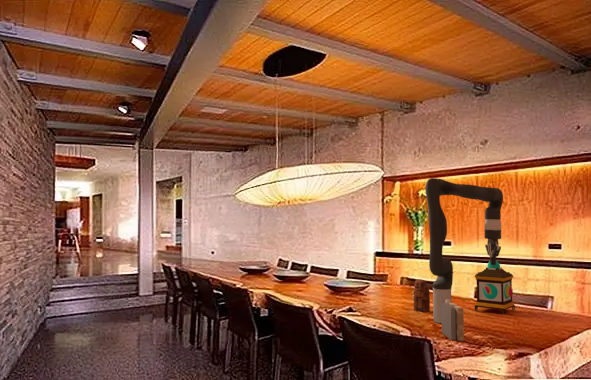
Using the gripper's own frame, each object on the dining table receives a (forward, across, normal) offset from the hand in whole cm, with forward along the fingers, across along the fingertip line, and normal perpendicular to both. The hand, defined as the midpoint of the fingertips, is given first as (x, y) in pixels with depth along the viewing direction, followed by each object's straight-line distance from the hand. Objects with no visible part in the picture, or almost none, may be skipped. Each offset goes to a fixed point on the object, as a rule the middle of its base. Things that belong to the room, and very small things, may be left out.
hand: (493, 265), depth 227 cm
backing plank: (+32, +8, -23) cm, 40 cm away
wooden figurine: (+33, -53, -20) cm, 65 cm away
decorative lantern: (+32, -51, +22) cm, 65 cm away
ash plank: (+31, +11, -22) cm, 40 cm away
